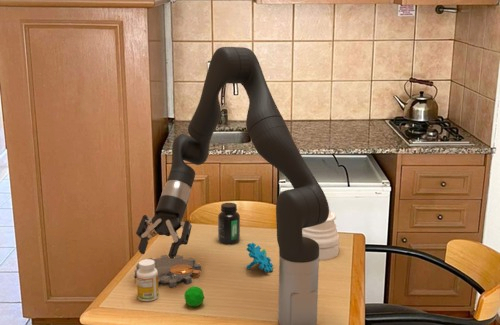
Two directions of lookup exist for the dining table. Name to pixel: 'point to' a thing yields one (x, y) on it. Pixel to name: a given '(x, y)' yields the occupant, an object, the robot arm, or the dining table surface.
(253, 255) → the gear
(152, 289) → the supplement bottle
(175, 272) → the sprocket plate
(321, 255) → the honey pot
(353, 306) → the dining table surface
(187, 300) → the polyhedron
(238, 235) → the supplement bottle
